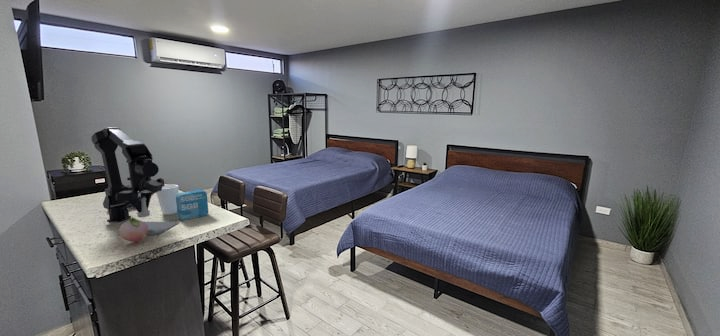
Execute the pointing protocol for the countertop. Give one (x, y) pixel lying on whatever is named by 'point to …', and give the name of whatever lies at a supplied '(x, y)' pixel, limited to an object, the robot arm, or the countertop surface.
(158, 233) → the mat
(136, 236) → the decorative fruit
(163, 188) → the foam cup
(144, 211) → the rook chess piece
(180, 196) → the data package
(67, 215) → the countertop surface
